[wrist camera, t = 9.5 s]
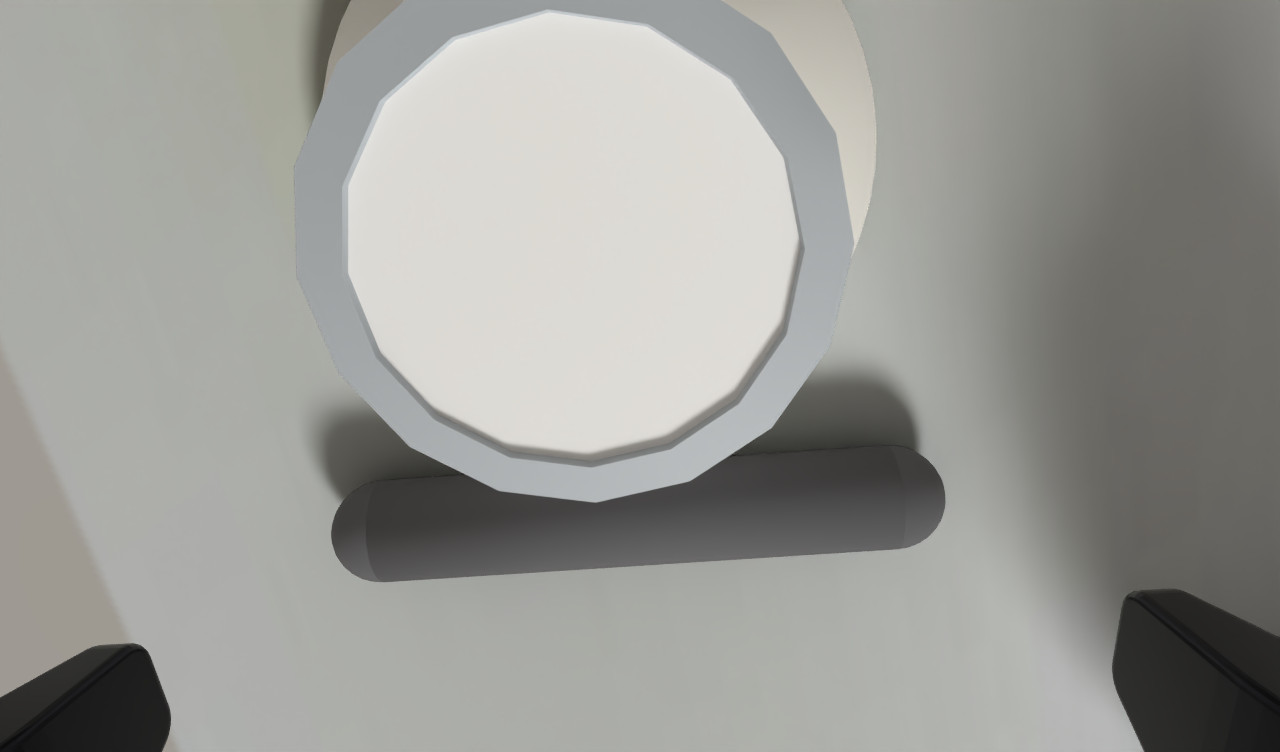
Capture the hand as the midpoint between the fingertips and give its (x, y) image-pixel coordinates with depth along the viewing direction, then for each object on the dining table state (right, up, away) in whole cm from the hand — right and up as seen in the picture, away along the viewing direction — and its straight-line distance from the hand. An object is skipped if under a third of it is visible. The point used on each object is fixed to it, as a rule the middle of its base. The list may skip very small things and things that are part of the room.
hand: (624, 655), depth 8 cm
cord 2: (0, 0, +13) cm, 13 cm away
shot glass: (-1, +7, +9) cm, 11 cm away
